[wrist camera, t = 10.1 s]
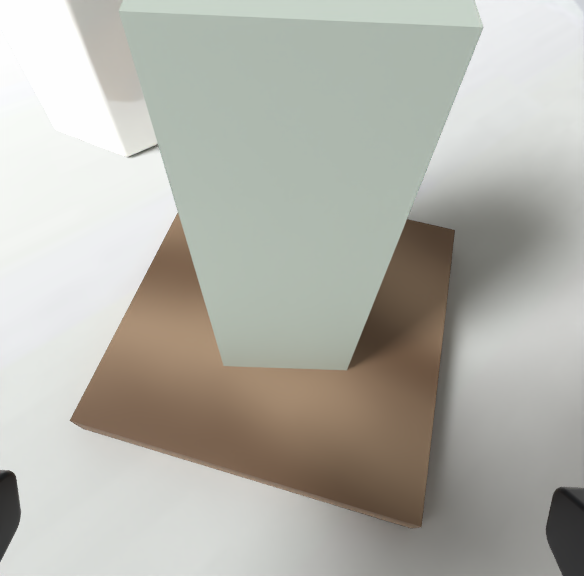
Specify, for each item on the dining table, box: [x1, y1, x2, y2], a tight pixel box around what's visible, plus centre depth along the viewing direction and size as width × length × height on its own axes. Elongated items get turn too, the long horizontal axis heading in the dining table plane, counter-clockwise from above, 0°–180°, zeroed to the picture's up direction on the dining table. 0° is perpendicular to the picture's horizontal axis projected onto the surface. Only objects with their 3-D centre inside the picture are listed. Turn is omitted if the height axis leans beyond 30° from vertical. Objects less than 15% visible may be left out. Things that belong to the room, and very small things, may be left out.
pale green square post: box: [119, 0, 483, 370], centre depth 12 cm, size 4×4×12 cm
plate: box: [70, 213, 455, 528], centre depth 18 cm, size 12×12×1 cm
